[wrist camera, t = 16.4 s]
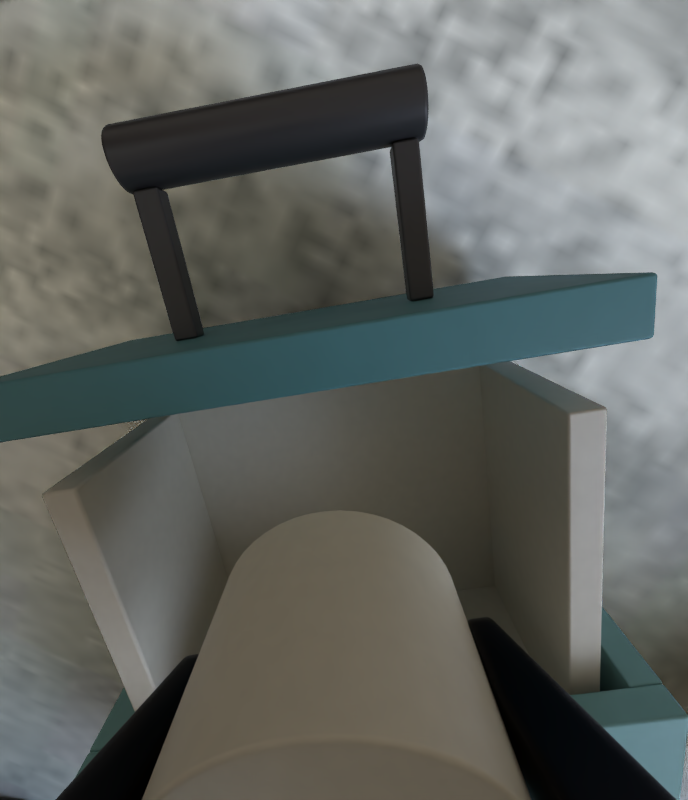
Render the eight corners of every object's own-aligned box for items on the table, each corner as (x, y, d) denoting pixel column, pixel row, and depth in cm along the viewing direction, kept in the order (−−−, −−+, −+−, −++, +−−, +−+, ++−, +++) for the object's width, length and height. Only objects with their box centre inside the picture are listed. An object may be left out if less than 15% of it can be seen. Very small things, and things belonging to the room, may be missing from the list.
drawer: (81, 190, 13) (-192, 95, 6) (500, 111, 12) (680, -87, 6) (218, 617, 18) (145, 813, 11) (521, 576, 17) (630, 759, 11)
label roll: (179, 572, 8) (24, 843, 4) (389, 466, 7) (437, 672, 3) (301, 721, 9) (270, 1041, 5) (491, 643, 9) (614, 943, 5)
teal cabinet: (195, 553, 18) (67, 788, 10) (524, 507, 17) (691, 717, 9) (262, 762, 22) (212, 1058, 13) (533, 731, 21) (655, 1022, 13)
